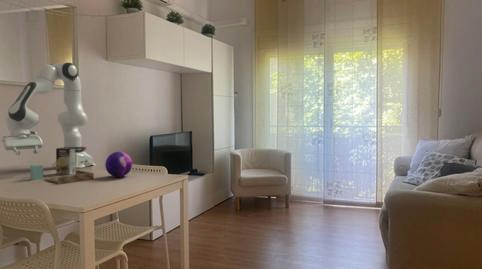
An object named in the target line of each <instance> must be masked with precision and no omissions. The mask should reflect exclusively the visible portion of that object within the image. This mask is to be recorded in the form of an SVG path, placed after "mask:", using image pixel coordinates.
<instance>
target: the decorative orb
mask: <svg viewBox="0 0 482 269" xmlns="http://www.w3.org/2000/svg"><path fill="white" fill-rule="evenodd" d="M104 164H105V166H104V167H105V170H106V172H107V173H108V174H109V175H111V176H112V177H115V178H122V177H125V176H127V175H128V174H129V173H130V172H131V170H132V167H133V160H132V158H131V157H130V155H129V154H127V153H126V152H123V151H114V152H112V153H110V155H108V156H107V158H106V159H105V163H104Z"/></svg>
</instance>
